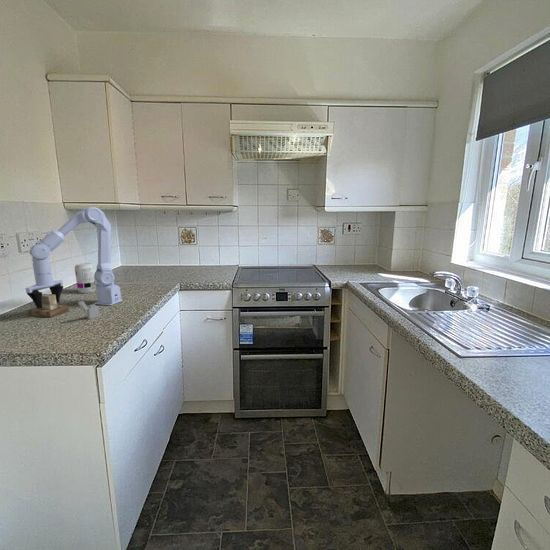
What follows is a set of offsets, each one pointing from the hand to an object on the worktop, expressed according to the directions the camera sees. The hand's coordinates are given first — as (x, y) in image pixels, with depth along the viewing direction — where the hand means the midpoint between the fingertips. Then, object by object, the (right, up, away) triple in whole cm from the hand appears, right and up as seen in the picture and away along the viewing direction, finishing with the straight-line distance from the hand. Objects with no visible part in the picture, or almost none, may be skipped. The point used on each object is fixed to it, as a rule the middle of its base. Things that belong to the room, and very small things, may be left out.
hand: (48, 305), depth 130 cm
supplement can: (-5, +4, +35) cm, 36 cm away
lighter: (+21, -5, -6) cm, 22 cm away
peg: (0, -4, +1) cm, 4 cm away
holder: (0, -4, +1) cm, 4 cm away
